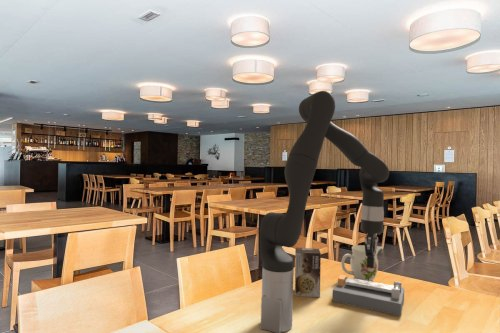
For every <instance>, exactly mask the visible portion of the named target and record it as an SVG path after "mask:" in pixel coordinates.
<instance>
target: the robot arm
mask: <svg viewBox="0 0 500 333" xmlns="http://www.w3.org/2000/svg"><path fill="white" fill-rule="evenodd" d="M335 112H336V101H335V97H334V96H333V95H332V93H331V92H330V91H327V90H319V91H317V92H315V93H313V94H311V95H309V96H308V97H305V98H304V99H302V100H301V101H300V102H299V105H298V113H299V116H300V117H301V119H302V120H303V121H305V123H306V125H305V127H304V129H303V131H302V132H301V134H300V135H299V136H298V138H297V140H296V141H295V142H294V144H293V146H292V147H291V149H290V151H289V154H288V157H287V161H286V163H285V166H284V178H285V183H286V186H287V189H288V194H289V198H288V200H289V201H288V205H287V209H286V212H285V213H280V212H272V211H270V212H268V213H266V214H265V215H264V216H263V218H262V219H261V221H260V222H261V223H260V228H259V242H260V247H259V248H260V249H259V250H260V252H259V253H260V254H259V255H260V259H261V261H262V274H261V276H262V277H261V280H262V281H261V303H260V329H261V330H265V331H268V332H270V333H271V332H272V333H284V332H287V331H289V330H291V329H292V328H293V304H294V303H293V302H294V299H293V298H294V277H295V260H294V257H292V256H291V255H289V254H288V253H287V252H286V251H285V249H284V247H286V248H293V247H294V246H295V245H296V244H297V243H298V241H299V239H300V237H301V233H302V229H303V224H304V218H305V214H306V213H305V211H306V208H307V202H308V197H309V195H310V194H309V193H310V190H311V186H312V184H313V180H314V176H315V174H316V170H317V166H318V162H319V158H320V154H321V151H322V148H323V144H324V141H325V138H326V139H327V140H328V141H329V142H331V143H332V144H333V145H334V146H335V147H336V148H337V149H338V150H339V151H340V152H341V153H342V154H343V155H344V156H345V157H346V158H347V160H348V161H349V162H350V163H351V164H353V166H355V167H359V168H360V169H359V172H358V174H359V177H358V178H359V183H360V187H361V188H360V189H361V192H362V203H361V204H362V205H361V214H360V231H361V232H363V233H366V236H365V237H364V244H363V245H364V246H365V253H366V256H367V267H369V268H373V267H374V257H375V254H376V249H377V246H378V242H379V237H378V236H377V234H379V235H380V234H382V233H383V232H384V218H385V217H384V216H385V211H384V199H385V198H384V197H385V196H384V191H383V190H382V189H379V187H378V184H377V183H384V182H385V181H386V182H387V180H388V179H389V176H390V170H389V167H388V166H387V164H386V163H385V162H384V161H383V160H382V159H381V158H379V157H378V156H376V155H375V154H374V153H372V152H371V151H369V150H368V148H367V147H366V146H365V145H364V143H362V142H361V140H360V139H359V138H357V136H355V135H354V134H352V133H351V132H349V131H347V130H345V129H343V128H341V127H339V126H338V125H336V124H334V123H333V122H332V120H333V117H334V114H335Z"/></svg>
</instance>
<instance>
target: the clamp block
mask: <svg viewBox="0 0 500 333" xmlns="http://www.w3.org/2000/svg"><path fill="white" fill-rule="evenodd" d="M348 277H349V276H347V278H348ZM402 283H403V282H402V281H393V285H394V287H395V285H399V286H400V289H394V288H392V293H390V292H384V291H379V290H373V289H368V288H363V287H357V286H352V285H346V284H345V285H344V286H339V285H338V283H336V285H335V286H334V287H333V289H332V300H331V301H332V302H334V303H338V304H343V305H347V306H348V305H349V306H353V307H357V308H361V309H366V310H370V311H375V312H380V313H383V314H384V313H385V314H388V315H394V316H399V317H401V315H402V311H403V306H404V301H405V287H403V286H402V285H403V284H402Z"/></svg>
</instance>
